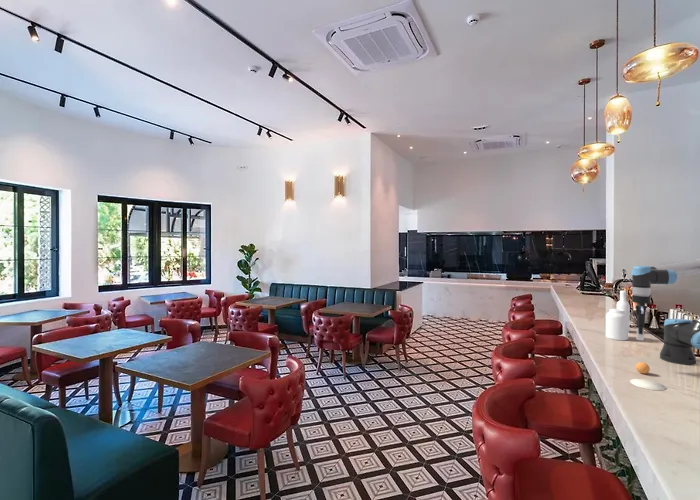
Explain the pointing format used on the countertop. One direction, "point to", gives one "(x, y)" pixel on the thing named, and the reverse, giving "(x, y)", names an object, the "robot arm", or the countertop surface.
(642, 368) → the ball
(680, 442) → the countertop surface
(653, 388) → the white plate
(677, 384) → the countertop surface
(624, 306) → the bottle
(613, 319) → the white container
